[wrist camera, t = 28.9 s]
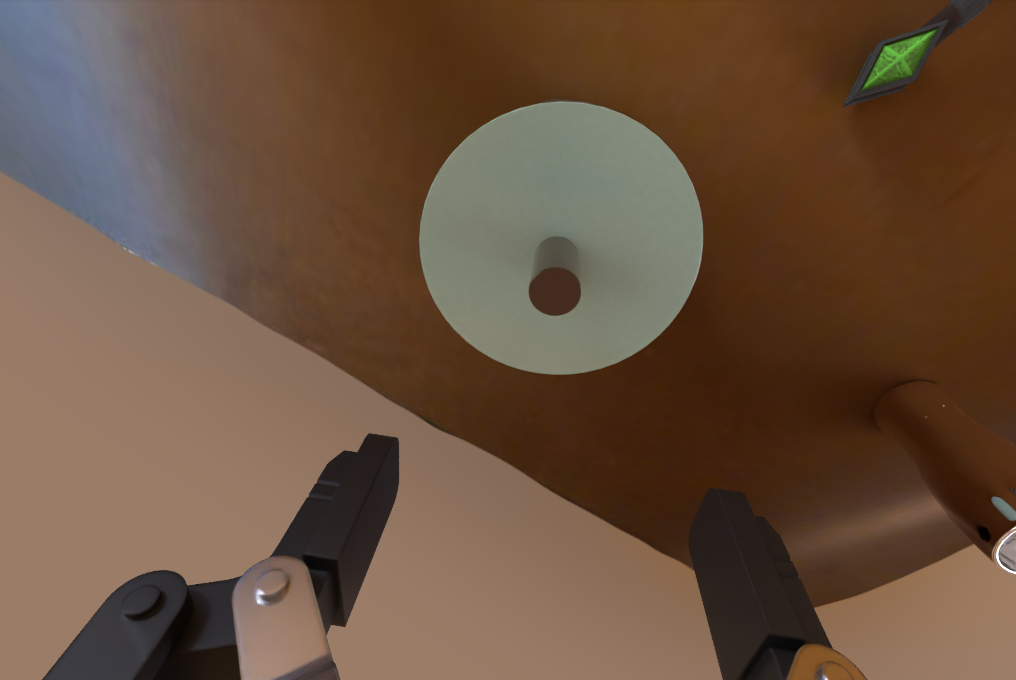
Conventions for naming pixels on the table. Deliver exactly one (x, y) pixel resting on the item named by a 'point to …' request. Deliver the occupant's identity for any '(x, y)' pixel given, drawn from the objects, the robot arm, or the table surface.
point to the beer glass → (957, 464)
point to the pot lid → (561, 238)
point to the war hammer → (909, 52)
